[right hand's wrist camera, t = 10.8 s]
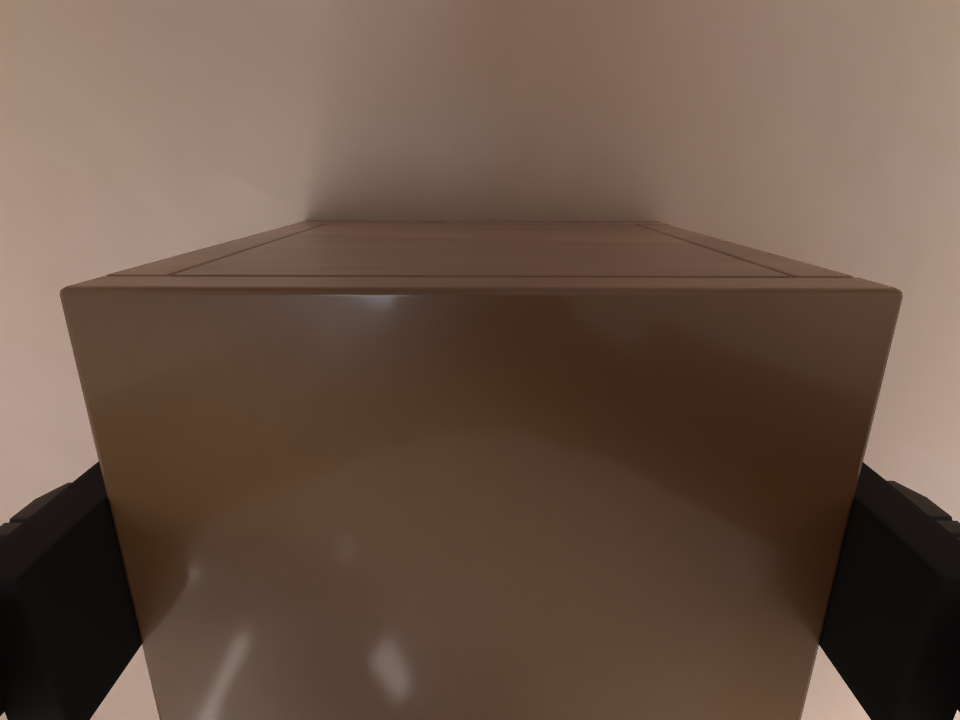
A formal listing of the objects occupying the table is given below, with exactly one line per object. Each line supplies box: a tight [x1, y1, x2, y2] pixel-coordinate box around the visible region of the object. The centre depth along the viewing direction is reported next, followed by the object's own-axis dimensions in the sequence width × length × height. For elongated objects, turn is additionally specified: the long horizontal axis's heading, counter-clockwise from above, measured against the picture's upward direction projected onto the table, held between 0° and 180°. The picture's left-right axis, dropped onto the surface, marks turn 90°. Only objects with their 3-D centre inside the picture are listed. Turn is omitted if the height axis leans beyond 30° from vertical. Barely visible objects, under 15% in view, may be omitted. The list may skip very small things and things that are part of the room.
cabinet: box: [60, 221, 902, 720], centre depth 16 cm, size 21×11×11 cm, turn 0°
